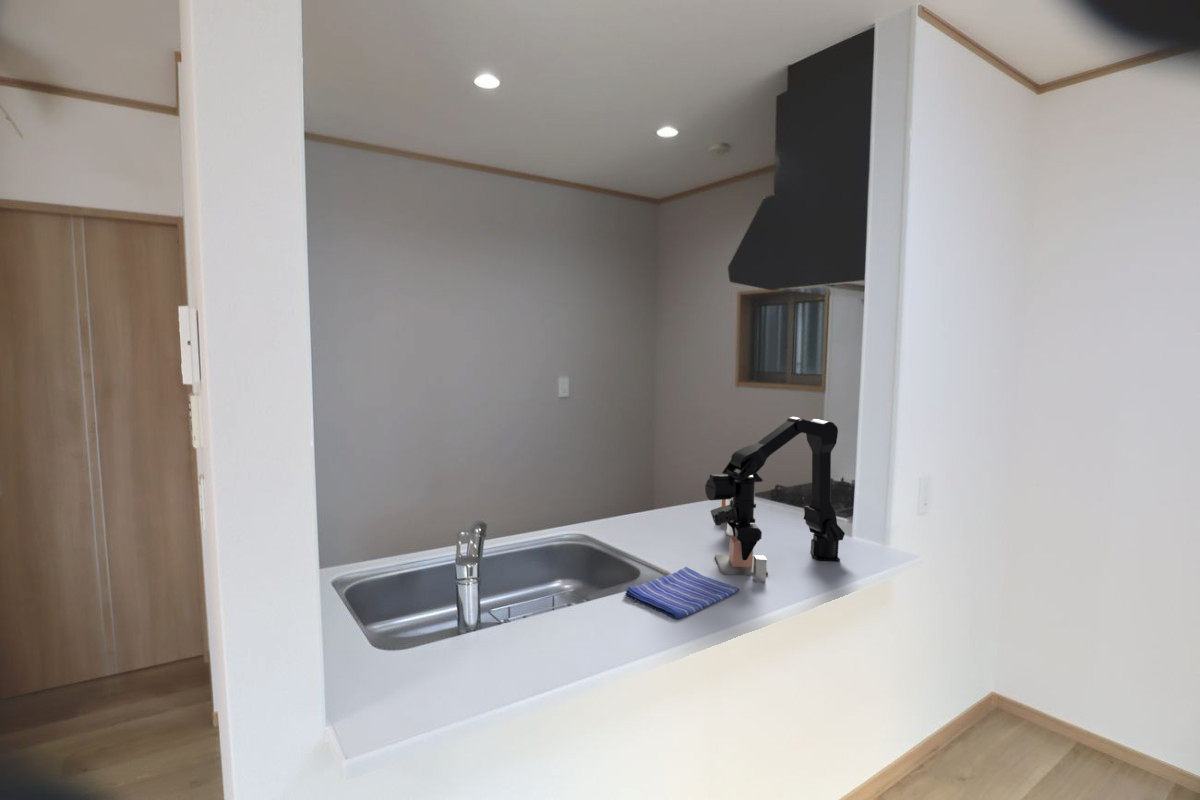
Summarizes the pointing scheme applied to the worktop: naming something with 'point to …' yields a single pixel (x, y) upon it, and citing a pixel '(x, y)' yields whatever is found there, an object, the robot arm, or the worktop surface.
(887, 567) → the worktop surface
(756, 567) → the post steel
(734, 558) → the salmon pink block
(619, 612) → the worktop surface
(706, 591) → the dish towel
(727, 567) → the plate
